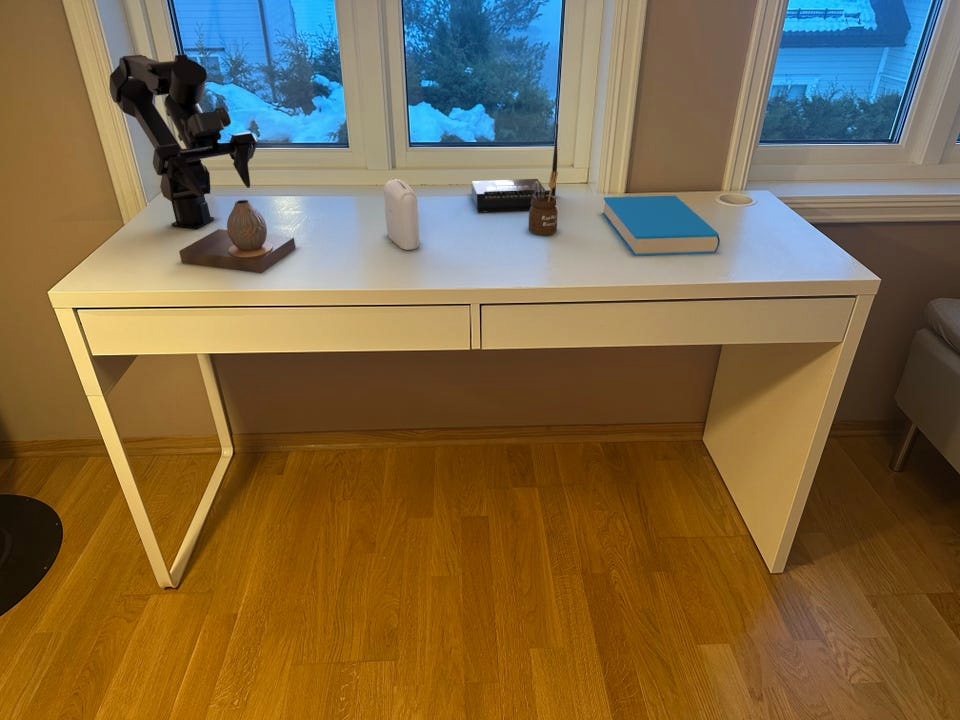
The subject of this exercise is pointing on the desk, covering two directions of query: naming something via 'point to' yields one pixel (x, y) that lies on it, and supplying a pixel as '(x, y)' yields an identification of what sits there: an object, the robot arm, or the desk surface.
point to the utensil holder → (543, 212)
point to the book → (659, 226)
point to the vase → (246, 227)
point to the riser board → (236, 252)
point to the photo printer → (401, 214)
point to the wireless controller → (510, 191)
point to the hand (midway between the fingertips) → (226, 191)
